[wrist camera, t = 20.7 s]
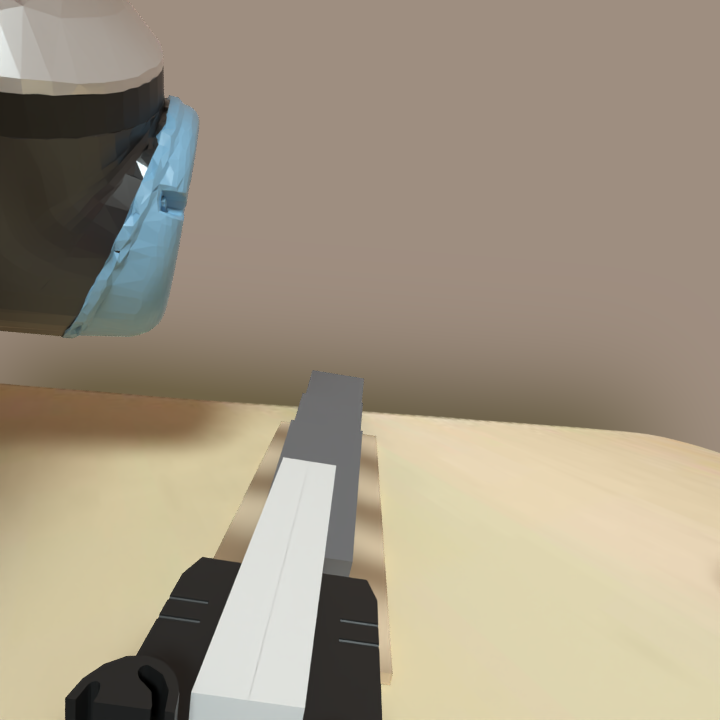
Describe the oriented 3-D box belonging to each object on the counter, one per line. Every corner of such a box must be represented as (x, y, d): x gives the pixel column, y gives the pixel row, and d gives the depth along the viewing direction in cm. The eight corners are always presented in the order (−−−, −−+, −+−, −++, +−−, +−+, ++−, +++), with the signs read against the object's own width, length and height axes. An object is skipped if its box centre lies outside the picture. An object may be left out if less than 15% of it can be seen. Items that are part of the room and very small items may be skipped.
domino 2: (354, 498, 27) (362, 402, 35) (275, 486, 26) (302, 393, 35) (351, 515, 27) (359, 417, 36) (274, 503, 27) (301, 408, 36)
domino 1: (357, 450, 33) (363, 378, 41) (292, 440, 32) (312, 370, 41) (354, 465, 33) (361, 392, 42) (290, 455, 33) (311, 383, 42)
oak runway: (389, 685, 17) (392, 673, 17) (170, 654, 17) (171, 642, 17) (374, 442, 40) (376, 436, 40) (280, 427, 40) (281, 421, 40)
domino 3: (352, 561, 21) (362, 431, 30) (251, 546, 21) (291, 419, 30) (348, 580, 22) (359, 448, 30) (251, 566, 22) (289, 437, 30)
